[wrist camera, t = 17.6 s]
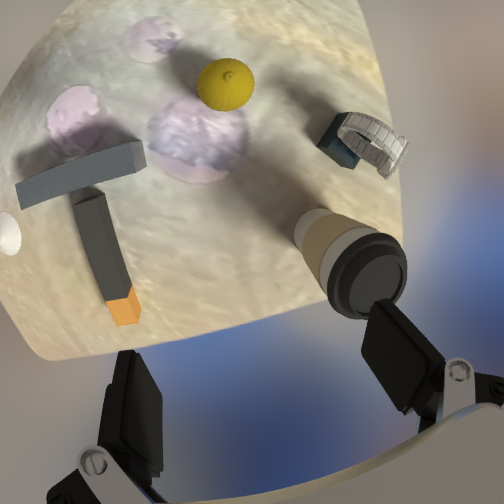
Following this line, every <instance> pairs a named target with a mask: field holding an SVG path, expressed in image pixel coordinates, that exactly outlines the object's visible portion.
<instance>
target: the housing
mask: <svg viewBox="0 0 504 504" xmlns="http://www.w3.org/2000/svg"><path fill="white" fill-rule="evenodd" d="M145 167H147V166H146V160H145V155H144V149H143V143H142V141H139V142H129V143H125V144H122V145H118V146H115V147H112V148H108V149H105V150H102V151H99V152H95V153H92V154H89V155H86V156H84V157H81V158H78V159H75V160H72V161H70V162H67V163H64V164H62V165H59V166H56V167H54V168H51V169H49V170H47V171H44V172H42V173H39V174H37V175H35V176H33V177H30V178H28V179H26V180H24V181H22V182H19V183H17V184H15V187H16V191H17V195H18V199H19V203H20V207H21V210H23V209H25V208H28V207H30V206H33V205H35V204H38V203H41V202H43V201H46V200H49V199H51V198H54V197H57V196H60V195H63V194H65V193H68V192H71V191H74V190H77V189H81V188H84V187H87V186H90V185H93V184H97V183H100V182H103V181H107V180H110V179H114V178H118V177H121V176H125V175H129V174H133V173H136V172H138V171H140V170H142V169H143V168H145Z"/></svg>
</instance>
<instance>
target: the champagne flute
mask: <svg viewBox="0 0 504 504" xmlns="http://www.w3.org/2000/svg"><path fill="white" fill-rule="evenodd" d="M20 245H21V233H20V229H19V226H18V224H17V222H16V220H15V219H14V218H13V216H12V215H10V214H9V213H7V212H0V251H1V252H3V253H4V254H6V255H9V256H10V255H14V254H16V253H17V252H18V251H19V248H20Z"/></svg>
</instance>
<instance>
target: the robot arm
mask: <svg viewBox="0 0 504 504" xmlns="http://www.w3.org/2000/svg"><path fill="white" fill-rule="evenodd" d="M361 354H362V356H363V358H364V359H365V361H366V363H367V364H368V366H369V367H370V369H371V370H372V372H373V373H374V375H375V376H376V378H377V379H378V381H379V382H380V384H381V385H382V387H383V388H384V390H385V391H386V393H387V394H388V396H389V397H390V399H391V401H392V402H393V404H394V405H395V407H396V408H397V410H398V411H402V413H403V414H404V415H407V414H409V413H411V412H413V411H414V410H415V412H416V413H417V420H416V426H415V431H414V436H413V437H412V438H410V439H409V440H407V441H405V442H403V443H401V444H400V445H398V446H396V447H394V448H392V449H390V450H388V451H386V452H384V453H382V454H380V455H378V456H376V457H373V458H371V459H369V460H366V461H364V462H362V463H360V464H357V465H355V466H352V467H350V468H348V469H345V470H342V471H339V472H337V473H334V474H331V475H328V476H325V477H322V478H319V479H316V480H313V481H310V482H306V483H303V484H299V485H296V486H292V487H288V488H284V489H280V490H276V491H271V492H266V493H261V494H256V495H250V496H244V497H237V498H231V499H222V500H213V501H200V502H185V503H168V502H167V501H166V500H165V499H164V498H163V497H162V496H161V495H160V494H159V493H158V492H157V491H156V490H155V489H154V488H153V487H152V486H151V485H152V477H160V472H162V471H163V438H162V402H163V401H162V395H161V392H160V390H159V389H158V387H157V385H156V383H155V381H154V380H153V378H152V376H151V375H150V372H149V370H148V369H147V367H146V365H145V363H144V361H143V359H142V357H141V355H140V354H139V353H136V352H135V351H134V350H123V351H119V352H118V356H117V360H116V366H115V370H114V375H113V380H112V384H109V385H108V386H107V388H106V392H105V398H104V403H103V409H102V416H101V421H100V428H99V436H98V443H97V446H96V445H92V446H88V447H85V448H84V449H83V450H82V451H80V453H79V455H78V457H77V467H78V468H77V469H76V470H75V471H73V472H72V473H71V474H69V475H68V476H67V477H65V478H64V479H63V480H62V481H60V482H59V483H57V484H56V485H55V486H53V487H52V488H51V489H50V490H49V491H48V493H47V498H46V500H47V504H504V378H502V377H499V376H493V375H487V374H481V373H476V372H474V370H473V367H472V366H471V364H470V363H469V362H468V361H466V360H464V359H462V358H453V359H450V360H449V361H448V362H447V363H446V362H445V361H444V360H445V359H444V357H443V356H442V355H441V354H440V353H439V352H438V350H437V349H436V348H435V347H434V346H433V345H432V344H431V343H430V342H429V341H428V340H427V338H426V337H425V336H424V335H423V334H422V333H421V332H420V331H419V330H418V329H417V327H416V326H415V325H414V324H413V323H412V322H411V321H410V320H409V319H408V318H407V317H406V316H405V315H404V314H403V313H402V312H401V311H400V310H399V309H398V307H397V306H395V304H394V303H393V302H392V301H391V300H390V299H388V298H384V299H381V300H377V301H375V302H374V303H373V306H371V308H370V313H369V317H368V322H367V327H366V331H365V335H364V340H363V344H362V348H361Z"/></svg>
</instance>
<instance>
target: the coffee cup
mask: <svg viewBox="0 0 504 504" xmlns="http://www.w3.org/2000/svg"><path fill="white" fill-rule="evenodd" d="M294 241H295V244H296V246H297V248H298V249H299V251H300V252H301V254H302V255H303V258H304V260H305V262H306V264H307V265H308V267H309V269H310V270H311V272H312V274H313V275H314V277H315V279H316V280H317V282H318V284H319V286H320V287H321V289H322V291H323V292H324V293H325V294H326V295H327V297H328V300H329V303H330V304H331V306H332V308H333V309H334V310H335V311H336V312H338V313H340V314H342V315H343V316H345V317H347V318H351V319H363V320H368V317H369V313H370V308H371V306H373V303H374V302H375V301H377V300H381V299H384V298H388V299H390V300H391V301H392V302H393V303H394V304H395V303H396V302H397V301H398V299H399V298H400V296H401V294H402V293H403V290H404V288H405V285H406V281H407V260H406V256H405V253H404V251H403V249H402V248H401V246H400V244H399V243H398V241H397V240H396V239H395V238H394V237H392V236H391V235H388V234H385V233H380V232H379V231H378V230H376V229H375V228H373V227H370V226H368V225H366V224H363V223H361V222H358V221H356V220H354V219H351V218H349V217H346V216H344V215H341V214H337V213H334V212H332V211H330V210H327V209H323V208H316V209H312V210H310V211H308V212H306V213H305V214H303V215H302V216H301V217H300V219H299V220H298V222H297V223H296V226H295V229H294Z"/></svg>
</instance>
